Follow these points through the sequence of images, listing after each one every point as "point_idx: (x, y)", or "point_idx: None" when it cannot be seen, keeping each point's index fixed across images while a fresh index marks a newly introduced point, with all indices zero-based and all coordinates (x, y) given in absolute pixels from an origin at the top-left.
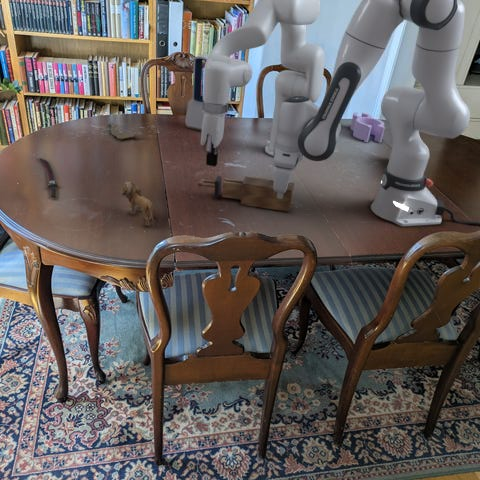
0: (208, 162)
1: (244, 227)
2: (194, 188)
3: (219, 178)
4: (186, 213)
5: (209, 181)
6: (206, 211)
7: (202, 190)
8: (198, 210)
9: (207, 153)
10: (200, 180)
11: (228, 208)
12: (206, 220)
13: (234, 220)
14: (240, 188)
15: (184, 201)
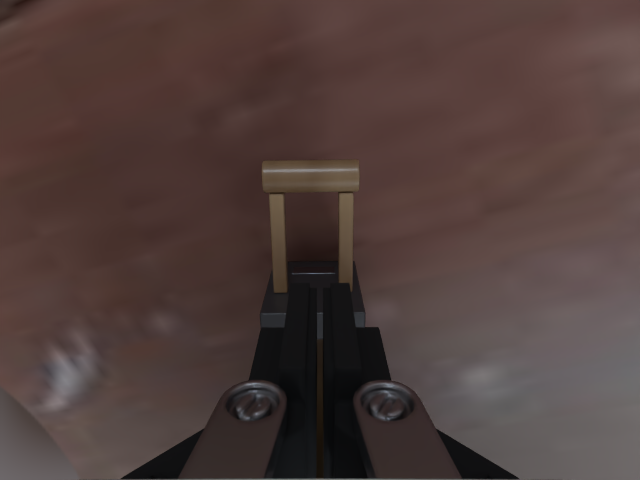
0: (261, 331)
1: (64, 447)
2: (369, 96)
3: (322, 333)
4: (20, 154)
5: (338, 236)
6: (109, 255)
7: (359, 158)
8: (95, 210)
9: (230, 397)
10: (314, 171)
11: (202, 350)
12: (17, 280)
13: (99, 399)
14: None
15: (156, 90)
